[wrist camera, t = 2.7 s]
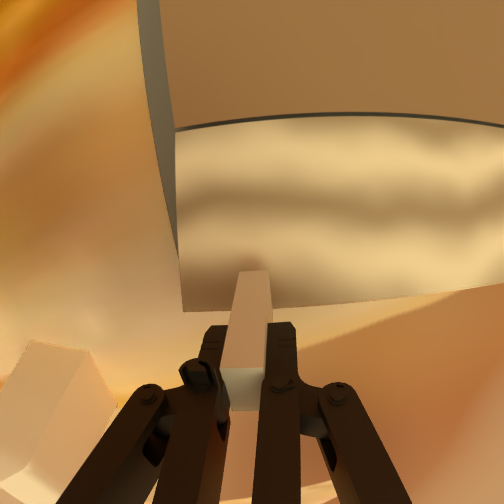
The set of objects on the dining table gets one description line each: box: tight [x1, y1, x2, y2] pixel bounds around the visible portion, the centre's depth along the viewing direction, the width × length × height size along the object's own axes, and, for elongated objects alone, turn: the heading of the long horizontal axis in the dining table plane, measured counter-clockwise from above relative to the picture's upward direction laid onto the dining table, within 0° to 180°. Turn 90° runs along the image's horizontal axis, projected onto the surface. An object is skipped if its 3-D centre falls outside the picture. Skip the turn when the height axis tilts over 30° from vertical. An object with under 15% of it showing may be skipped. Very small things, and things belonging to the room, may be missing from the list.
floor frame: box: [137, 0, 504, 258], centre depth 20 cm, size 30×35×3 cm
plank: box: [175, 116, 504, 312], centre depth 19 cm, size 12×30×2 cm, turn 98°
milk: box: [0, 340, 118, 504], centre depth 27 cm, size 12×12×26 cm
